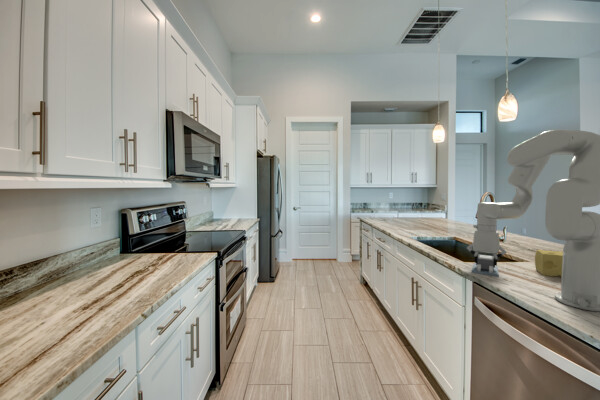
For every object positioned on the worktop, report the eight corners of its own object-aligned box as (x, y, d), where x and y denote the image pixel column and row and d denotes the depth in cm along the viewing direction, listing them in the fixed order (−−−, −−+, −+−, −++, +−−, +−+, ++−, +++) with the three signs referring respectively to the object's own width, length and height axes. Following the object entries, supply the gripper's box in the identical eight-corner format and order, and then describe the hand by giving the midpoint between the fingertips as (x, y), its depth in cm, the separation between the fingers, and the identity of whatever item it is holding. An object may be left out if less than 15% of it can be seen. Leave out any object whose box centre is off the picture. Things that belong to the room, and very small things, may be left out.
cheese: (573, 279, 111) (575, 256, 110) (540, 275, 116) (541, 253, 116) (564, 272, 120) (565, 251, 120) (534, 269, 125) (534, 248, 125)
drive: (493, 270, 118) (493, 260, 117) (477, 268, 121) (477, 258, 121) (493, 265, 126) (493, 255, 125) (478, 263, 129) (478, 254, 129)
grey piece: (498, 276, 115) (498, 267, 115) (471, 272, 121) (471, 263, 121) (498, 268, 126) (498, 260, 126) (473, 264, 132) (473, 257, 132)
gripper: (464, 227, 125) (463, 264, 125) (510, 231, 114) (508, 271, 115) (465, 225, 131) (464, 260, 131) (509, 228, 120) (508, 266, 121)
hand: (485, 265), depth 123 cm, fingers closed on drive, 5 cm apart
